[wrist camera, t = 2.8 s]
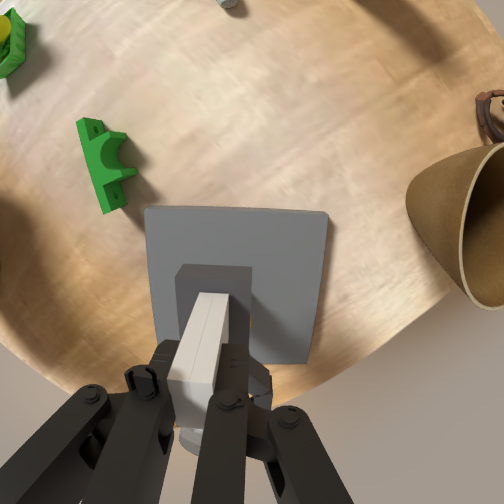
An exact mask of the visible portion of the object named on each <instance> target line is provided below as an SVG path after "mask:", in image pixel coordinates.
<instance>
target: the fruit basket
mask: <svg viewBox="0 0 504 504" xmlns="http://www.w3.org/2000/svg"><path fill="white" fill-rule="evenodd" d="M24 30H25V22H24V21H23V20H22V18H21V17H20V16H19V15H18V14H17V13H16V10H15V9H14V8H11V9H9V10H8V11H7V12H6V13H5V14H4V15H0V79H3V78H6V77H7V76H8V75H9V74H10V73H12V72H13V71H14V70H15V69H16V68H17V67H18V66H19V65H20V64H21V63H23V62H24V61H25V52H24V51H25V41H24V40H25V31H24Z"/></svg>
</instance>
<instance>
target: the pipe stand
mask: <svg viewBox="0 0 504 504" xmlns="http://www.w3.org/2000/svg"><path fill="white" fill-rule="evenodd" d="M328 216H329V215H328V214H326V213H325V212H321V211H305V210H288V209H269V208H245V207H213V206H149V207H147V208H145V209H144V218H145V236H146V251H147V263H148V274H149V284H150V293H151V301H152V309H153V317H154V324H155V331H156V337H157V343H158V345H159V344H160V343H161V342H162V341H164V340H165V339H169V340H179V341H180V335H179V325H178V315H177V303H176V291H175V276H176V274H177V272H178V271H179V269H180V268H181V266H182V265H183V264H204V265H226V266H250V267H252V290H251V313H250V314H251V328H250V336H249V352H250V355H251V356H252V357H253V358H254V359H256V360H257V361H258V362H259V363H261V364H307V361H308V355H309V350H310V345H311V339H312V333H313V328H314V322H315V316H316V309H317V303H318V296H319V290H320V283H321V275H322V268H323V260H324V252H325V244H326V235H327V225H328Z"/></svg>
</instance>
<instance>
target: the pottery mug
mask: <svg viewBox="0 0 504 504" xmlns="http://www.w3.org/2000/svg"><path fill="white" fill-rule="evenodd" d="M498 96H503V97H504V90H493V91H489V92H487V93H485V92H481V93H480V94H479V95H478V96H477V97H476V99H475V100H476V109H477V115H478V119H479V122H480V125H481V126H482V127H484V132H485V133H486V134H487V135H488V137H489V138H490V139H491V141H492V142H493V144H496V143H502V142H504V135H503V134H502V133H500V132H499V131H498V130H497V128H496V127H495V126H494V124H493V122H492V119H491V116H490V103H491V99H490V98H492V97H498ZM502 103H503V105H504V100H502Z"/></svg>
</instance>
